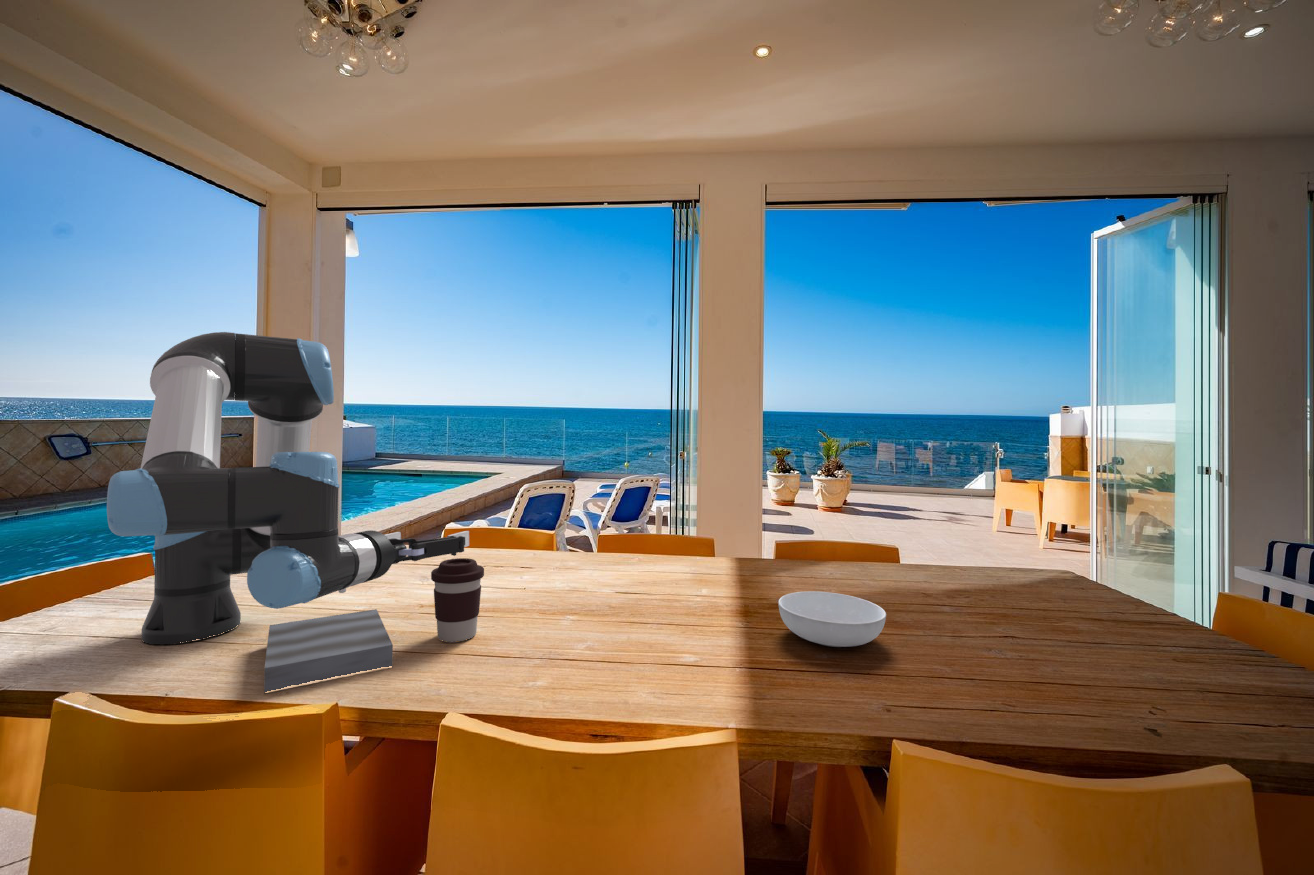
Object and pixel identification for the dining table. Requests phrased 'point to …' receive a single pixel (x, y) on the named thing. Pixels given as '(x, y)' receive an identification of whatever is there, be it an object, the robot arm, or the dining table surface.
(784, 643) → the dining table surface
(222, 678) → the dining table surface
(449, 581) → the coffee cup
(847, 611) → the serving bowl
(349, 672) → the stand
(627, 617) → the dining table surface
